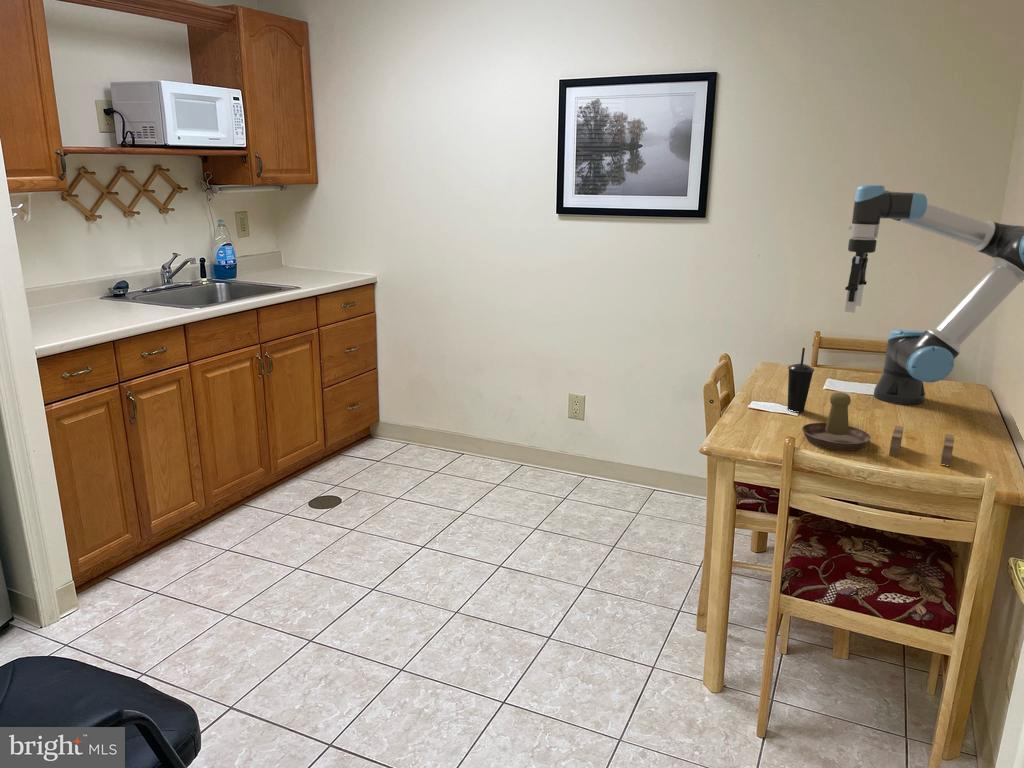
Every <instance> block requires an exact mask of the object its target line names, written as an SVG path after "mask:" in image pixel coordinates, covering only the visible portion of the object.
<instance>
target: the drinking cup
mask: <svg viewBox="0 0 1024 768" xmlns="http://www.w3.org/2000/svg"><path fill="white" fill-rule="evenodd" d="M805 352H806V348H805V347H802V350H801V358H800V363H793V364H791V365H788V366H787V369H788V378H787V379H788V383H787V384H788V385H787V387H788V388H787V410H788V409H790V410H793V411H799V412H798V413H803V412H804V411H805V407H806V404H807V403H806V402H807V399H808V396H809V395H808V394H809V391H810V386H811V382H812V378H813V373H814V372H815V368H814V367H812V366H809V365H808V364H805V363H804V358H805Z"/></svg>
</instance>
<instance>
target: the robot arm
mask: <svg viewBox="0 0 1024 768" xmlns="http://www.w3.org/2000/svg"><path fill="white" fill-rule="evenodd" d="M885 188H886V187H885V186H884V185H881V184H880V185H879V184H876V185H875V184H861V185H859V186H857V188H856V192H855V197H854V201H853V202H854V204H853V212H852V219H851V225H850V226H849V227H848V230H850V234H849V236H850V237H851V238H850V239H849V240H848V245H847V250H848V252H851V253H855V256H853V257H852V259H851V267H850V274H849V277H848V283H847V286H845V288H844V290H845V291H847V293H846V299H845V300H846V301H845V308H844V312H845V313H852V314H854V313H855V314H856V308H857V307H861V305H862V299H863V291H864V286H865V285H867V282H868V281H866V272H867V266H868V262H869V258H868V256H869V254H871V253H875V252H876V248H877V240H876V239H877V238H878V235H879V230H880V223H881V222H880V221H881V219H891V220H893V221H897V222H899V223H902V224H906V225H909V226H912V227H915V228H919V229H921V230H924V231H927V232H929V233H933V234H936V235H939V236H942V237H945V238H948V239H951V240H955V241H957V242H960V243H963V244H967V245H969V246H971V247H972V249H973V250H974V251H976V252H978V253H982V254H985V255H986V256H988V257H991V258H993V266H992V267H991V268H990V269H989V270H988V271H987V272H986V273H985V274H984V275H983V277H982V278H981V279H979V281H978V282H977V283H976V284H975V285H974V286H973V287H972V288H971V289H970V291H968V293H967V294H966V295H965V296H964V297H963V298H962V299H961V300H960V301H959V302H958V303H957V305H956V306H954V307H953V308H952V310H951V311H950V312H949V313H948V314H947V315H946V316H945V317H944V318H943V319H942V321H940V322H939V323H938V325H937V326H936V327H934V328H930V329H926V330H917V329H916V330H915V329H892V330H891V331H890V332H889V335H888V338H887V345H886V353H885V356H884V357H885V358H884V363H883V365H884V366H883V371H882V374H881V375H880V376H881V377H880V378H879V380H878V382H877V383H876V385H875V387H874V391H873V396H874V398H877V400H878V399H879V400H880V401H884V402H888V403H892V404H897V405H898V404H899V405H908V406H909V405H910V406H913V405H915V406H917V405H921V404H924V403H925V401H926V400H925V399H926V392H925V391H926V390H925V387H924V383H937V382H939V381H941V380H944V379H946V378H947V377H948V376H949V375H950V374H952V371H953V369H954V366H955V365H954V363H955V359H956V358H957V357H958V356H959V355H960V354H961V350H960V349H961V348H960V347H961V345H962V344H963V343H964V342H965V341H966V340H967V339H968V337H970V336H971V335H972V333H973V332H975V330H977V328H978V327H980V325H981V324H982V323H983V322H984V321H985V320H986V319H987V318H988V317H989V316H990V315H991V314H992V313H993V312H994V310H996V309H997V308H998V306H999V305H1000V304H1002V302H1004V300H1005V299H1006V298H1007V297H1008V296H1010V294H1011V293H1012V292H1013V291H1014V290H1015V289H1016V288H1017V287H1018V286H1019V285H1020V284H1021V283H1024V282H1023V280H1024V226H1023V225H1014V224H1013V225H1011V224H1005V223H1000V222H996V221H994V220H993V221H992V220H988V221H986V222H984V221H981V220H978V219H975V218H972V217H969V216H966V215H964V214H959V213H957V212H955V211H950V210H948V209H945V208H942V207H939V206H936V205H933V204H929V203H928V198H927V195H926V194H924V193H923V192H901V191H890V190H885Z"/></svg>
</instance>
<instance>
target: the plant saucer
mask: <svg viewBox="0 0 1024 768" xmlns="http://www.w3.org/2000/svg"><path fill="white" fill-rule="evenodd" d="M826 424H827V422H812V423H808V424H804V425H803V426H802V427H801V428H802V432H803V434H804V436H805V437H806V438H807V440H808V441H809V442H811V443H812V444H815V445H816V446H819V447H823V448H827V449H831V450H838V451H839V450H840V451H855V450H859V449H861V448H863V447H864V446H867V444H868V443H869V442H870V441H871V440H872V435H870V433H868V432H867V431H864V430H862V429H860V428H857V427H854V426H850V425H848V426H849V433H848V434H846V435H833V434H830V433H828V432H826V431H825V428H826Z"/></svg>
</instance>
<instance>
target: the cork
mask: <svg viewBox="0 0 1024 768" xmlns="http://www.w3.org/2000/svg"><path fill="white" fill-rule="evenodd" d="M829 401H830V404H831V406H830V409H829V413H828V417H827V421H826V423H827V424H826V428H825V431H826V432H828V433H830V434H833V435H846V434H848V433H849V426H850V425H849V406H850V404H851V396H850V395H849V394H848V393H845V392H834V393H832V394H831V395H830V397H829Z"/></svg>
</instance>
